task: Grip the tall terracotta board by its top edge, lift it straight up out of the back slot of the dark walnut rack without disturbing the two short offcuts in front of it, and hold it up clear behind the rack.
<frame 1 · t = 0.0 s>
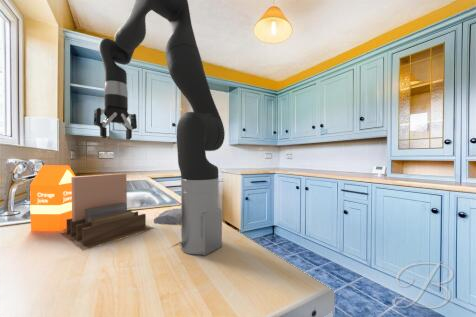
hand: (116, 138, 78), 29 cm above the counter, tool pointing down, fingers open, 8 cm apart
rack: (108, 233, 61), on the counter
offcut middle: (107, 229, 61), point 1 cm above the counter, touching rack
stone block: (171, 222, 72), on the counter
tall sheet: (101, 227, 63), point 1 cm above the counter, touching rack
offcut front: (114, 233, 58), point 1 cm above the counter, touching rack
orange juice: (56, 230, 64), on the counter
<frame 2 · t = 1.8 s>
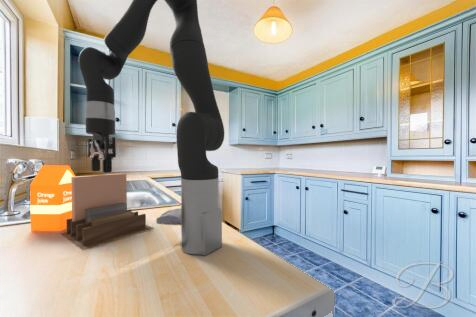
hand: (101, 171, 63), 18 cm above the counter, tool pointing down, fingers open, 8 cm apart
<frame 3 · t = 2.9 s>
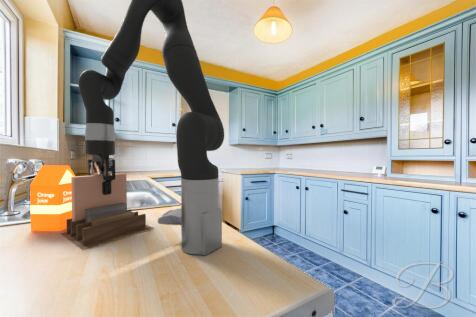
hand: (101, 193, 63), 11 cm above the counter, tool pointing down, fingers open, 7 cm apart
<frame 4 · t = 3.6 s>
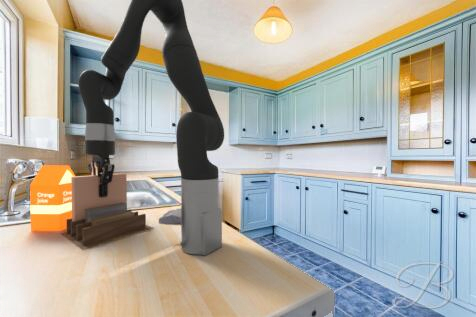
hand: (101, 195, 63), 11 cm above the counter, tool pointing down, fingers closed on tall sheet, 2 cm apart
tall sheet: (101, 227, 63), point 1 cm above the counter, touching gripper, rack
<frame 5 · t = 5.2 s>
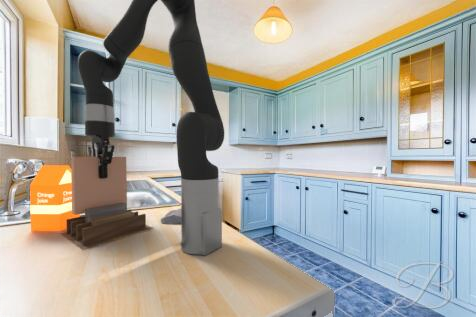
hand: (101, 177, 63), 16 cm above the counter, tool pointing down, fingers closed on tall sheet, 2 cm apart
tall sheet: (101, 209, 63), point 7 cm above the counter, touching gripper
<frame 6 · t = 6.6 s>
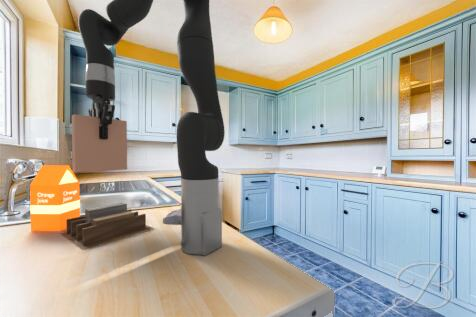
hand: (101, 139, 63), 28 cm above the counter, tool pointing down, fingers closed on tall sheet, 2 cm apart
tall sheet: (101, 170, 63), point 18 cm above the counter, touching gripper
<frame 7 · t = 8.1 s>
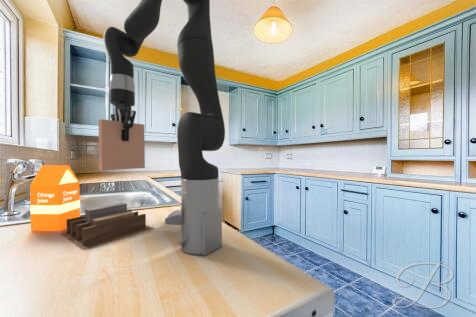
hand: (123, 141, 71), 28 cm above the counter, tool pointing down, fingers closed on tall sheet, 2 cm apart
tall sheet: (123, 168, 71), point 18 cm above the counter, touching gripper
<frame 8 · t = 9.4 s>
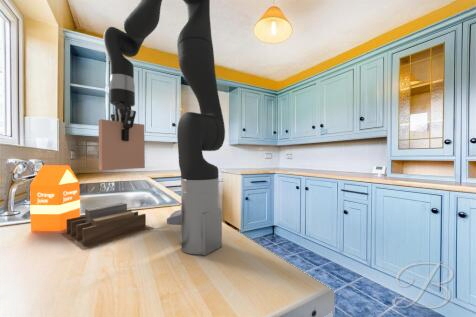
hand: (123, 141, 71), 28 cm above the counter, tool pointing down, fingers closed on tall sheet, 2 cm apart
tall sheet: (123, 168, 71), point 18 cm above the counter, touching gripper
at the end: the gripper is holding tall sheet; tall sheet point 18.4 cm above the counter; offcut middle moved 0.0 cm from its start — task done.
